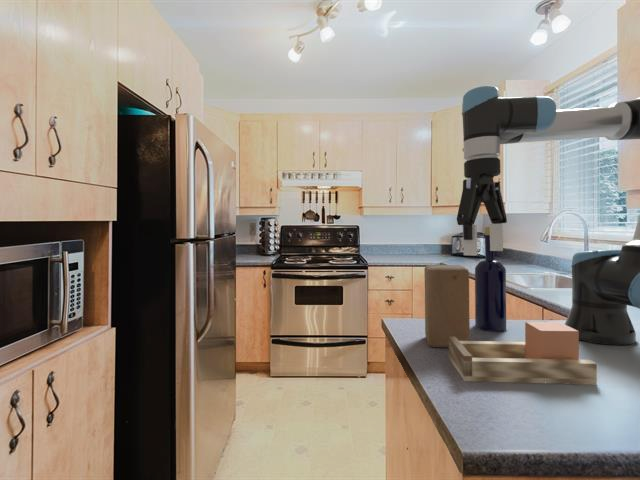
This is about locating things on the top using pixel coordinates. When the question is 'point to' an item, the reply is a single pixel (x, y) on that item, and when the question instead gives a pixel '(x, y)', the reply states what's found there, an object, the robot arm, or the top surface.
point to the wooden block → (446, 304)
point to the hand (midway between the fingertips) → (484, 253)
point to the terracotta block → (551, 341)
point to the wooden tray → (515, 364)
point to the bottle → (490, 291)
